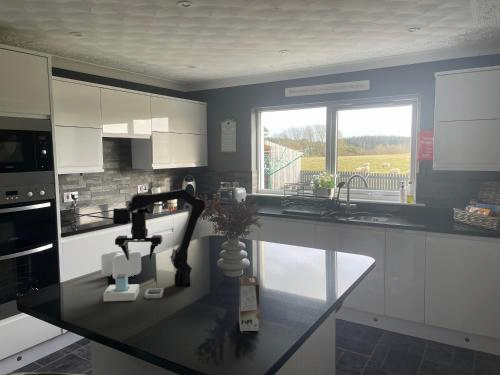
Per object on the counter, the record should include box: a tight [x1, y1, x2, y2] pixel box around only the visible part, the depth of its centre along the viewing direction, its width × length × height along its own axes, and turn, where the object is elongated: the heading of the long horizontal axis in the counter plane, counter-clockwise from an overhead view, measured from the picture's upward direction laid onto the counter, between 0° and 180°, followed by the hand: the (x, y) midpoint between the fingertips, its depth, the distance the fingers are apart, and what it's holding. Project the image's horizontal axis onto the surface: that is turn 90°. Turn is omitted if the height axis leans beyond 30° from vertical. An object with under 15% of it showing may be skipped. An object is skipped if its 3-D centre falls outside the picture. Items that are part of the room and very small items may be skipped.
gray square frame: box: [144, 287, 165, 299], centre depth 159 cm, size 7×7×2 cm
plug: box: [114, 274, 129, 291], centre depth 157 cm, size 4×4×9 cm
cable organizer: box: [100, 248, 142, 280], centre depth 182 cm, size 15×11×12 cm
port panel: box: [102, 283, 140, 302], centre depth 157 cm, size 12×10×3 cm
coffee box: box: [238, 275, 260, 333], centre depth 131 cm, size 9×6×16 cm
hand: (139, 259), depth 164 cm, fingers open, 9 cm apart
